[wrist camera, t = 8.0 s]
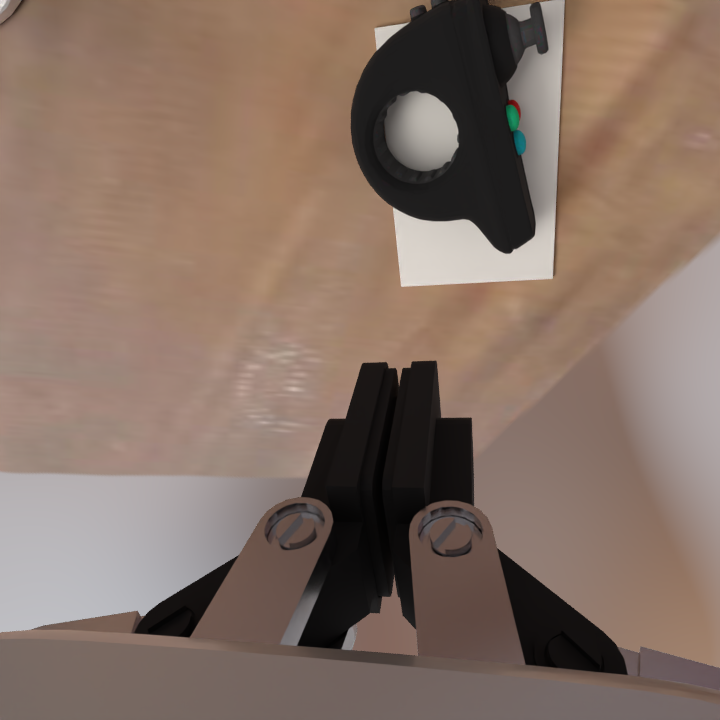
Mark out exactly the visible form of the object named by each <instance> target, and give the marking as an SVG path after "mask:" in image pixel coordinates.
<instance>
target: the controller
mask: <svg viewBox="0 0 720 720" xmlns="http://www.w3.org/2000/svg"><path fill="white" fill-rule="evenodd" d="M431 5H432V10H430V11H428V12H427V11H426V7H425V6H424V5H420V6H417V7H415V8H412V9H411V10H410V16H411V21H412V22H410V23H409V24H407V25H406V26H404V27H403V28H401V29H400V30H399V31H397V32H396V33H395V34H394V35H392V36H391V37H390V38H389V39H388V40H387V41H386V42H385V43H384V44H383V45H382V46H381V47H380V48H379V49H378V50H377V51H376V52H375V53H374V55H373V56H372V58H371V59H370V60H369V62H368V64H367V65H366V67H365V69H364V71H363V73H362V75H361V78H360V80H359V82H358V84H357V87H356V91H355V95H354V98H353V103H352V109H351V135H352V144H353V148H354V152H355V155H356V158H357V161H358V164H359V166H360V168H361V170H362V172H363V174H364V176H365V178H366V179H367V181H368V182H369V184H370V185H371V186H372V188H373V189H374V190H375V191H376V193H377V194H378V195H379V196H380V197H381V198H382V199H383V200H384V201H386V202H387V203H388V204H389V205H391V206H392V207H394V208H395V209H397V210H398V211H400V212H402V213H404V214H406V215H408V216H411V217H414V218H417V219H420V220H426V221H454V220H462V219H465V220H470V221H471V222H473V223H474V224H475V225H476V226H477V227H478V228H479V229H480V231H481V232H482V233H483V234H484V236H485V237H486V238H487V239H488V241H489V242H490V243H491V244H492V246H493V247H494V248H496V249H497V250H498V251H500V252H502V253H505V254H511V253H512V252H513V250H514V249H518V248H519V247H521V246H522V245H524V244H525V243H527V242H528V241H529V240H531V239H532V238H533V237H534V236H535V229H536V221H535V214H534V209H533V205H532V201H531V197H530V192H529V188H528V183H527V179H526V174H525V170H524V165H523V160H522V156H521V155H522V154H523V153H524V152H525V150H526V139H525V136H524V134H523V133H522V132H521V131H520V130H517V128H518V126H519V121H520V118H521V110H520V107H519V104H518V103H517V102H516V101H515V100H509V96H508V89H507V82H508V81H509V80H510V79H511V78H512V76H513V75H514V73H515V71H516V69H517V64H518V63H519V62H520V60H521V58H522V56H523V54H524V51H525V49H526V48H528V47H530V46H533V45H536V47H537V51H538V53H539V54H541V55H542V54H544V53H547V51H548V50H549V47H548V41H547V35H546V29H545V24H544V19H543V14H542V9H541V4H540V3H539V2H536V3H533V4H531V6H530V16H531V18H529V19H526V20H524V21H518V20H517V19H516V18H515V17H513V16H512V15H510V14H507V13H506V11H504V10H503V9H501V8H499V7H496V6H493V5H489V4H488V0H452V1H448V0H431ZM413 91H418V92H419V93H428V94H430V95H433V96H435V97H436V98H438V99H439V101H441V102H443V103H444V104H445V105H446V106H447V107H448V108H449V110H450V111H451V113H452V116H453V118H454V120H455V121H456V124H457V128H458V135H457V142H458V143H459V146H458V148H457V149H456V150H455V152H454V154H453V156H452V158H451V161H448V162H446V163H445V164H444V165H443V167H441V168H439V169H432V170H430V171H417V170H413V169H410V168H407V167H406V166H404V165H403V164H401V163H400V162H399V161H397V160H396V159H395V157H394V156H393V155H392V153H391V152H390V150H389V148H388V147H387V143H386V140H385V136H384V121H385V118H386V116H387V110H388V108H389V106H391V105H392V104H393V103H395V102H396V100H397V96H398V95H399V96H405V95H407V94H408V93H409V92H413Z"/></svg>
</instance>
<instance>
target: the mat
mask: <svg viewBox="0 0 720 720" xmlns="http://www.w3.org/2000/svg"><path fill="white" fill-rule="evenodd" d="M539 3H540V4H541V9H542V14H543V19H544V24H545V29H546V35H547V41H548V47H549V50H548V51H547V53H544V54H542V55H541V54H539V53H538V51H537V47H536V45H533V46H530V47H528V48H526V49H525V51H524V54H523V56H522V58H521V60H520V62H519V63H518V64H517V69H516V71H515V73H514V75H513V76H512V78H511V79H510V80H509V81H508V82H507V89H508V96H509V100H515V101H516V102H517V103H518V104H519V107H520V110H521V118H520V121H519V126H518V128H517V130H520V131H521V132H522V133H523V134H524V136H525V139H526V150H525V152H524V153H523V154H522V155H521V156H522V160H523V165H524V170H525V174H526V179H527V183H528V188H529V192H530V197H531V201H532V205H533V209H534V214H535V221H536V229H535V236H534V237H533V238H532V239H531V240H529V241H528V242H527V243H525V244H524V245H522V246H521V247H519V248H518V249H514V250H513V252H512V253H511V254H505V253H502V252H500V251H498V250H497V249H496V248H494V247H493V246H492V244H491V243H490V242H489V241H488V239H487V238H486V237H485V236H484V234H483V233H482V232H481V231H480V229H479V228H478V227H477V226H476V225H475V224H474V223H473V222H471V221H470V220H465V219H462V220H454V221H426V220H420V219H417V218H414V217H411V216H408V215H406V214H404V213H402V212H400V211H398V210H397V209H395V208H394V207H393V212H394V221H395V231H396V241H397V250H398V260H399V270H400V279H401V287H405V286H424V285H443V284H462V283H481V282H500V281H520V280H539V279H553V261H554V238H555V215H556V192H557V168H558V145H559V122H560V99H561V76H562V53H563V30H564V6H565V0H552V1H546V2H539ZM530 6H531V4H527V5H520V6H514V7H507V8H501V9H503V10H504V11H506V13H507V14H510V15H512V16H513V17H515V18H516V19H517V20H518V21H524V20H526V19H529V18H531V16H530ZM407 24H409V23H405V24H398V25H392V26H386V27H379V28H375V37H376V47H377V50H378V49H379V48H380V47H381V46H382V45H383V44H384V43H385V42H386V41H387V40H388V39H389V38H390V37H391V36H392V35H394V34H395V33H396V32H397V31H399V30H400V29H401V28H403V27H404V26H406V25H407ZM384 124H385V134H386V143H387V147H388V148H389V150H390V152H391V153H392V155H393V156H394V157H395V159H396V160H397V161H399V162H400V163H401V164H403V165H404V166H406V167H407V168H410V169H413V170H417V171H430V170H432V169H439V168H441V167H443V165H444V164H445V163H446V162H448V161H451V158H452V156H453V154H454V152H455V150H456V149H457V148H458V146H459V143H458V142H457V135H458V128H457V124H456V121H455V120H454V118H453V116H452V113H451V111H450V110H449V108H448V107H447V106H446V105H445V104H444V103H443V102H441V101H439V99H438V98H436V97H435V96H433V95H430V94H428V93H419V92H418V91H413V92H409V93H408V94H407V95H405V96H399V95H398V96H397V100H396V102H395V103H393V104H392V105H391V106H389V108H388V110H387V116H386V118H385V121H384Z"/></svg>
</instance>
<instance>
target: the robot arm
mask: <svg viewBox="0 0 720 720" xmlns="http://www.w3.org/2000/svg"><path fill="white" fill-rule="evenodd" d="M21 1H22V0H0V24H1V23H2V22H3V21H5V20H6V19H7V18H8V17H10V16H11V15H12V13H13V12H14V11H15V9H16V8H17V6H18V5H19V3H20V2H21ZM473 472H474V471H473V439H472V418H441V410H440V397H439V383H438V370H437V362H436V361H413V362H412V364H411V368H403V369H402V374H401V380H400V385H399V383H398V375H397V370H396V368H388V364H387V362H379V363H363V364H362V366H361V369H360V372H359V376H358V379H357V382H356V386H355V389H354V392H353V396H352V399H351V402H350V406H349V409H348V412H347V416H346V419H329V420H328V422H327V424H326V426H325V429H324V432H323V435H322V438H321V441H320V444H319V447H318V449H317V452H316V455H315V458H314V461H313V464H312V467H311V470H310V473H309V476H308V479H307V482H306V485H305V487H304V491H303V493H302V496H301V497H298V498H293V499H288V500H285V501H283V502H281V503H279V504H277V505H275V506H274V507H272V508H271V509H270V510H268V511H267V512H266V513H265V514H264V516H263V517H262V518H261V519H260V521H259V523H258V524H257V526H256V528H255V529H254V531H253V533H252V534H251V536H250V538H249V539H248V541H247V543H246V544H245V546H244V548H243V549H242V551H241V553H240V554H239V555H238V556H237V557H235V558H234V559H232V560H230V561H228V562H227V563H225V564H224V565H222V566H220V567H218V568H217V569H215V570H213V571H212V572H210V573H209V574H207V575H205V576H204V577H202V578H200V579H199V580H197V581H195V582H194V583H192V584H190V585H189V586H187V587H185V588H184V589H182V590H180V591H179V592H177V593H176V594H174V595H172V596H171V597H169V598H167V599H166V600H164V601H162V602H161V603H159V604H158V605H157V606H155V607H154V608H153V609H151V610H150V611H149V612H148V613H147V614H146V615H145V616H140V614H139V612H138V611H133V612H127V613H121V614H114V615H108V616H102V617H95V618H89V619H82V620H76V621H70V622H63V623H57V624H51V625H45V626H41V627H38V628H34V629H32V630H25V631H12V632H1V633H0V720H720V668H718V667H714V666H710V665H707V664H703V663H699V662H695V661H692V660H688V659H685V658H681V657H677V656H674V655H670V654H666V653H662V652H659V651H655V650H652V649H648V648H644V647H640V652H639V653H638V652H634V651H630V650H627V649H623V648H620V647H617V645H616V644H615V643H614V642H613V641H612V640H611V639H610V638H609V637H608V636H607V635H606V634H605V633H604V632H603V631H602V630H600V629H599V628H598V627H596V626H595V625H594V624H593V623H591V622H590V621H589V620H588V619H586V618H585V617H584V616H583V615H581V614H580V613H579V612H578V611H576V610H575V609H574V608H572V607H571V606H570V605H568V604H567V603H566V602H565V601H564V600H562V599H561V598H560V597H558V596H557V595H556V594H555V593H553V592H552V591H551V590H550V589H548V588H547V587H545V585H543V584H542V583H541V582H539V581H538V580H537V579H536V578H534V577H533V576H532V575H531V574H529V573H528V572H527V571H525V570H524V569H523V568H522V567H520V566H519V565H518V564H517V563H515V562H514V561H513V560H512V559H510V558H509V557H508V556H506V555H505V554H504V553H503V552H501V551H500V550H499V549H498V548H497V546H496V542H495V538H494V534H493V529H492V526H491V524H490V522H489V520H488V518H487V517H486V516H485V515H484V514H483V513H482V511H480V510H479V509H478V508H476V507H474V473H473ZM394 575H395V581H396V588H397V594H398V597H400V600H401V607H402V613H403V616H404V617H405V618H406V619H407V620H408V622H409V623H411V625H412V626H413V627H414V628H415V629H416V633H417V646H418V656H415V655H414V656H413V655H403V654H391V653H378V652H366V651H354V650H352V648H353V645H354V642H355V638H356V632H357V626H356V623H357V622H359V621H360V620H361V619H363V618H364V617H366V616H367V615H368V614H369V613H380V608H381V601H382V596H384V597H390V596H391V594H392V587H393V579H394Z"/></svg>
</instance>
